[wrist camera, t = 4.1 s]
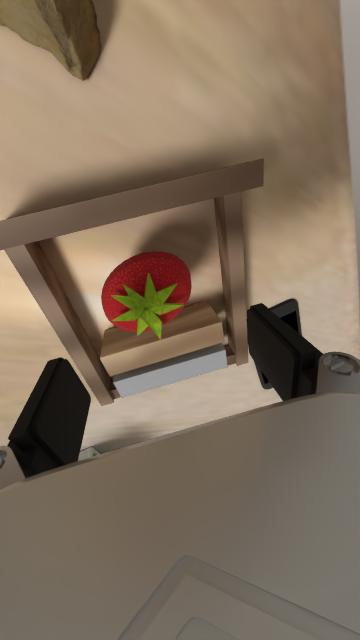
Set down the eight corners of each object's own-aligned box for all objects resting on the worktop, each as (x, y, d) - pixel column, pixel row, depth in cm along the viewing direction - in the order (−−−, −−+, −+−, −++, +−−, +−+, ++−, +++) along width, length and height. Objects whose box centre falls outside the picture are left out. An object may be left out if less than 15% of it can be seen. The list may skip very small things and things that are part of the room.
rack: (4, 219, 18) (-45, 231, 13) (227, 167, 19) (263, 158, 14) (103, 390, 29) (97, 432, 24) (240, 350, 30) (262, 382, 25)
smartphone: (261, 389, 36) (264, 393, 35) (240, 319, 28) (243, 323, 27) (303, 370, 36) (307, 373, 35) (293, 294, 28) (298, 297, 27)
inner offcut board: (105, 329, 25) (99, 358, 20) (206, 300, 25) (221, 321, 21) (113, 346, 26) (110, 376, 22) (209, 317, 27) (224, 341, 22)
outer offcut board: (115, 351, 26) (113, 382, 22) (210, 325, 27) (225, 349, 23) (122, 366, 28) (121, 398, 24) (213, 340, 29) (227, 366, 24)
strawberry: (189, 275, 23) (223, 324, 15) (129, 311, 24) (129, 377, 16) (160, 223, 20) (181, 247, 12) (92, 266, 21) (67, 318, 12)
